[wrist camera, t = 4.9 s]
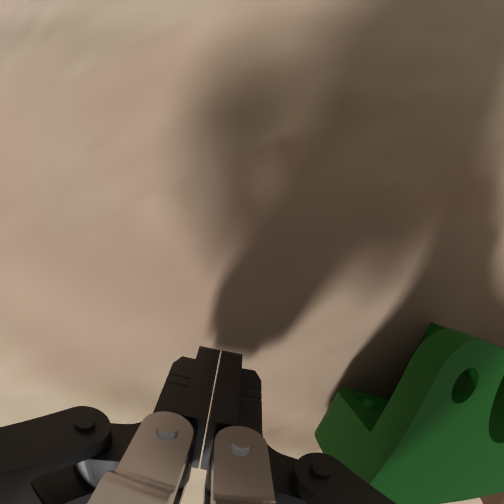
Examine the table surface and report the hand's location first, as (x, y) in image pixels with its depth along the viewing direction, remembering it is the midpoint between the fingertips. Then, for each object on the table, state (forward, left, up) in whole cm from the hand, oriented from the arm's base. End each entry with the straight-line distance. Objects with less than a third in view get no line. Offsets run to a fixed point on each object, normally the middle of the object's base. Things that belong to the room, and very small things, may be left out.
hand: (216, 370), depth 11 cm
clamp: (+10, 0, -1) cm, 10 cm away
